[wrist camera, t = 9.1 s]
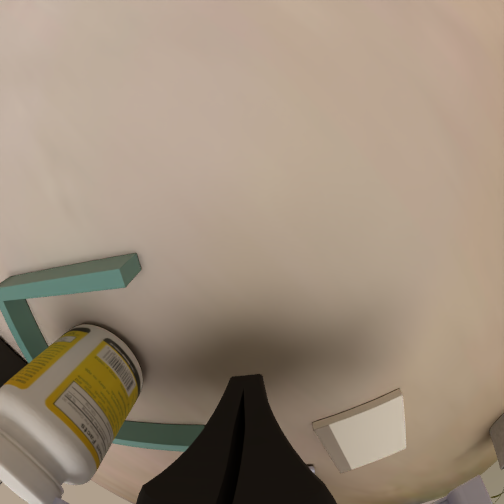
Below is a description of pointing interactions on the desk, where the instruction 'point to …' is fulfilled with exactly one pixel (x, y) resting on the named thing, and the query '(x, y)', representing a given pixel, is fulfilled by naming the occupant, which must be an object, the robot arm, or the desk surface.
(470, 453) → the desk surface
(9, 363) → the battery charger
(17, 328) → the bracket
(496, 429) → the house plant
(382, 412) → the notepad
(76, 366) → the supplement bottle
